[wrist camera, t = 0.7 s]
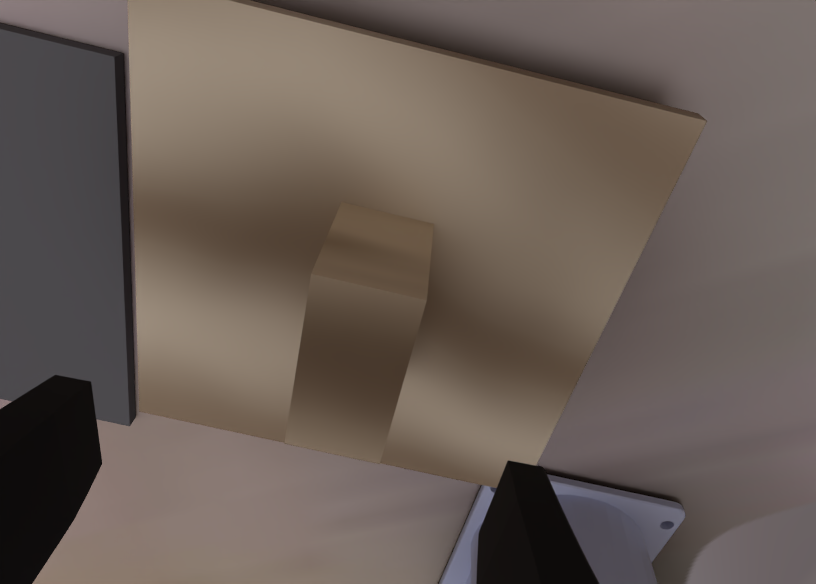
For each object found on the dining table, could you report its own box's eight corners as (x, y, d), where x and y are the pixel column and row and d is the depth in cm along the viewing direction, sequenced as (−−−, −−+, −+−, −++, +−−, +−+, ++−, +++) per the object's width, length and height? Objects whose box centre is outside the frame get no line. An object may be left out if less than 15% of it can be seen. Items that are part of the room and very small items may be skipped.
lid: (520, 479, 21) (532, 594, 17) (147, 398, 20) (80, 502, 17) (698, 113, 14) (778, 180, 10) (139, -28, 13) (21, -8, 10)
